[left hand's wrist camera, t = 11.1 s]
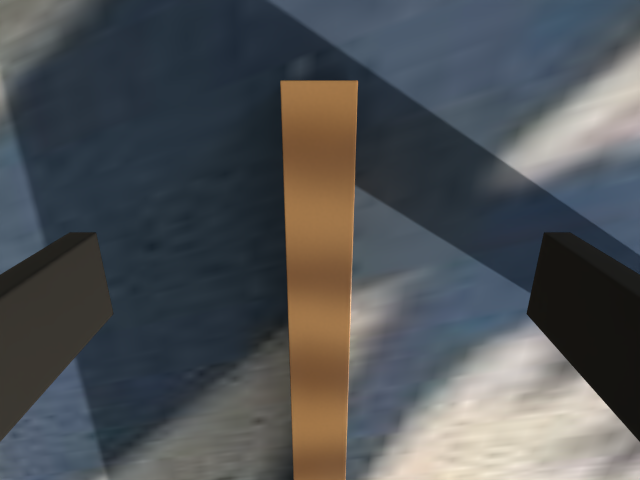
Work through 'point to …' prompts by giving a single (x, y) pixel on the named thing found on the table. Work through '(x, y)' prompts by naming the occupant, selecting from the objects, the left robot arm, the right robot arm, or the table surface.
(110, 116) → the table surface
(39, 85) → the table surface
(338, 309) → the bar
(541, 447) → the table surface
